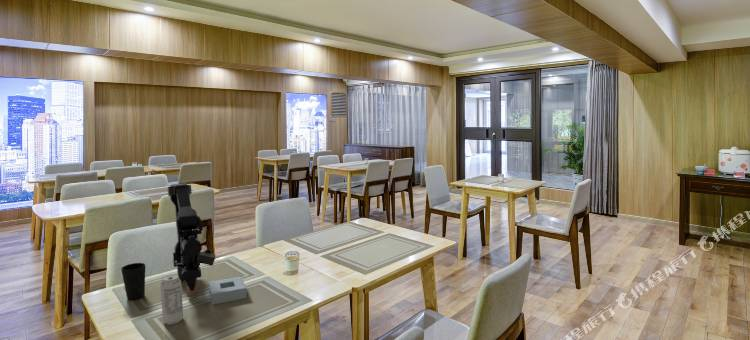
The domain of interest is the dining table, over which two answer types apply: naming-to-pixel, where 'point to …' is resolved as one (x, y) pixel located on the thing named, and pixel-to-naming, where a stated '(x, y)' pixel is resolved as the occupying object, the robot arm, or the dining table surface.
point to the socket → (227, 290)
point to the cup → (134, 280)
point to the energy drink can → (171, 299)
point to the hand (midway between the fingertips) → (192, 288)
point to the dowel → (192, 293)
